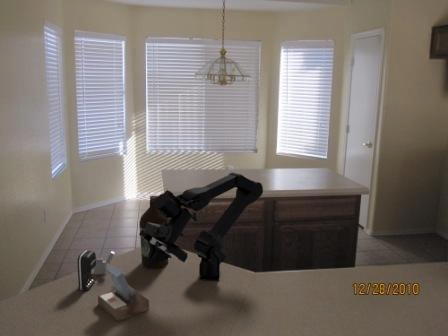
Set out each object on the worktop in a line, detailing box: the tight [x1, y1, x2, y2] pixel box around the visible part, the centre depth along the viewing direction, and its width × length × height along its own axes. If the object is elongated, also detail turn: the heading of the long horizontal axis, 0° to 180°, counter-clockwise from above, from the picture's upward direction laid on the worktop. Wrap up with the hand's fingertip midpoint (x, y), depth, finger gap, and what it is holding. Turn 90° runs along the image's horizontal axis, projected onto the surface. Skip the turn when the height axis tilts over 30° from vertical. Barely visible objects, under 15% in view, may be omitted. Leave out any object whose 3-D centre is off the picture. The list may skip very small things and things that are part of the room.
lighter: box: [93, 250, 116, 275], centre depth 154 cm, size 7×2×8 cm, turn 91°
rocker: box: [107, 265, 132, 301], centre depth 131 cm, size 2×6×10 cm, turn 40°
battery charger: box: [76, 249, 97, 291], centre depth 144 cm, size 7×4×11 cm, turn 174°
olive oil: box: [138, 195, 170, 270], centre depth 161 cm, size 11×11×25 cm
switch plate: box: [100, 292, 126, 309], centre depth 130 cm, size 4×9×1 cm, turn 41°
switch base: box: [97, 284, 150, 322], centre depth 132 cm, size 10×12×5 cm
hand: (146, 268), depth 136 cm, fingers closed
